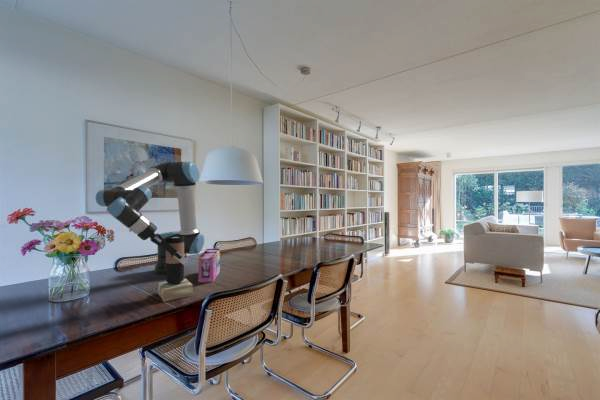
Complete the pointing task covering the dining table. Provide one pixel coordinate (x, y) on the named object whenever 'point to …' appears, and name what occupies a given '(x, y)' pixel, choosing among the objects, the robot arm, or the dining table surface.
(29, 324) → the dining table surface
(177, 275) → the travel mug
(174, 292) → the pedestal
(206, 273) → the gum box
